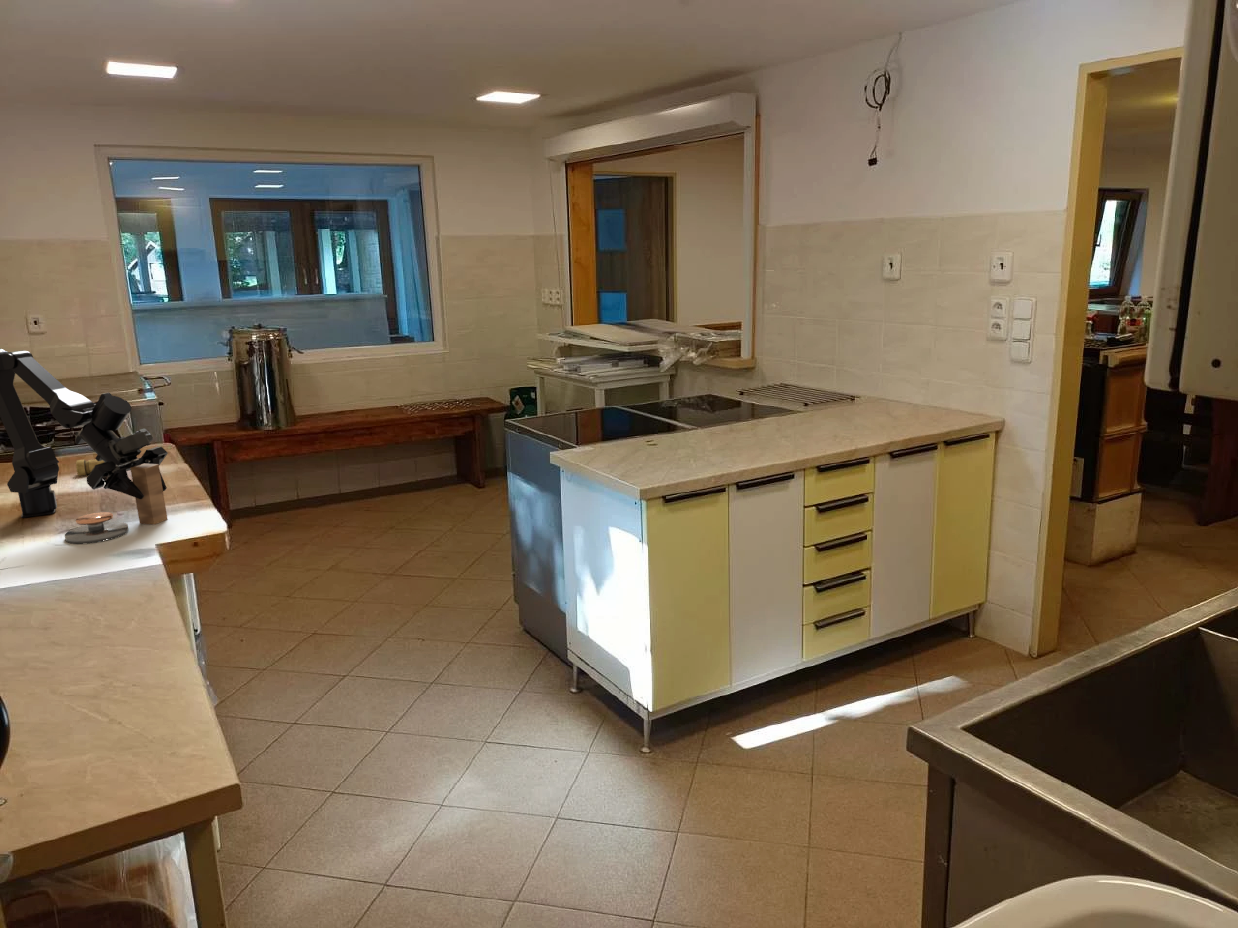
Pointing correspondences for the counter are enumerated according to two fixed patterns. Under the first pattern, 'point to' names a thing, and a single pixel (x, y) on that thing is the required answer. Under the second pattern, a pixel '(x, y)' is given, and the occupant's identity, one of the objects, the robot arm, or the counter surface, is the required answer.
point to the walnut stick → (149, 493)
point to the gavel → (86, 466)
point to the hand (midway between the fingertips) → (154, 493)
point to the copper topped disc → (95, 528)
